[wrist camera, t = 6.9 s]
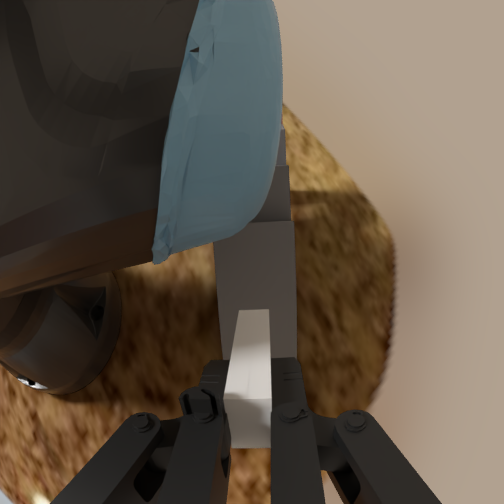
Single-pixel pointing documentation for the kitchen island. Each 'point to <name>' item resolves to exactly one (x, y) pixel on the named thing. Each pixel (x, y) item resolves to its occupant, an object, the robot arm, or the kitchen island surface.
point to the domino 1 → (258, 283)
